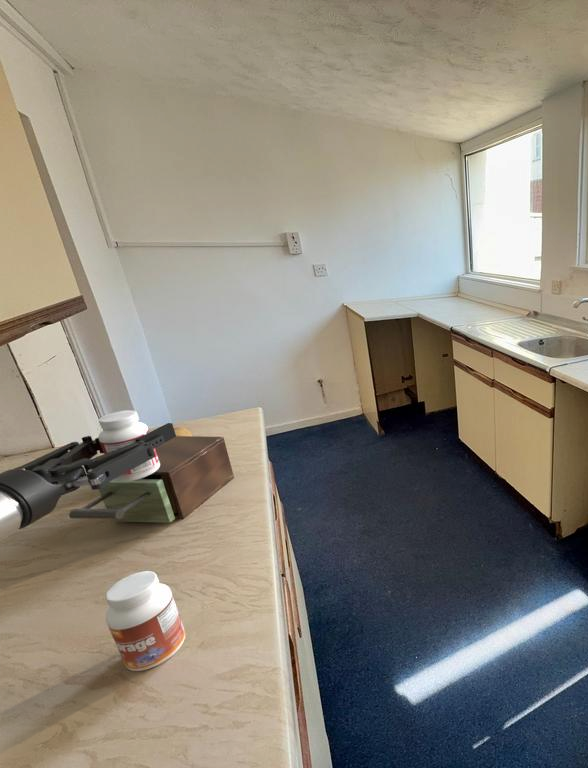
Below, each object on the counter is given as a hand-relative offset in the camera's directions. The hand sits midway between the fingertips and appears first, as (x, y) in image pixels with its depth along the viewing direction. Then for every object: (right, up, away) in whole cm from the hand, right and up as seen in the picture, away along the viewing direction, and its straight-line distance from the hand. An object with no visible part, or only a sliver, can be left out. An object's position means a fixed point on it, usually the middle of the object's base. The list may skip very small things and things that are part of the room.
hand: (153, 429), depth 72 cm
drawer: (-5, -17, +6) cm, 19 cm away
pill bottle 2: (+19, -27, -20) cm, 38 cm away
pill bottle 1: (0, -7, -3) cm, 8 cm away
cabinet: (-5, -16, +12) cm, 20 cm away
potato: (-18, -11, +25) cm, 33 cm away
